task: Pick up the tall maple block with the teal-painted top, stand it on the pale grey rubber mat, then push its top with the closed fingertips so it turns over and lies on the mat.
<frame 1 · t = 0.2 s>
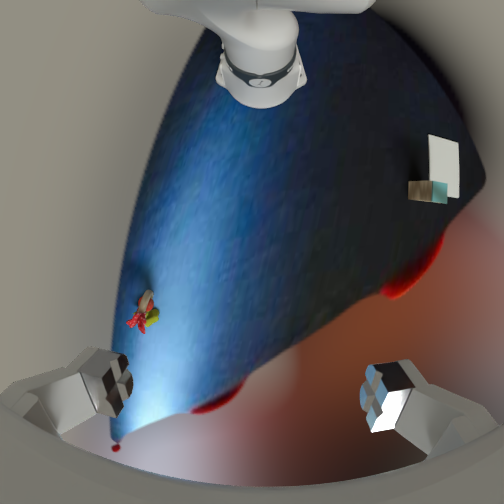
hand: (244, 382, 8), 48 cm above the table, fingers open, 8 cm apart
bird rattle: (150, 301, 60), on the table
grey mat: (444, 166, 49), on the table
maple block: (415, 191, 51), on the table
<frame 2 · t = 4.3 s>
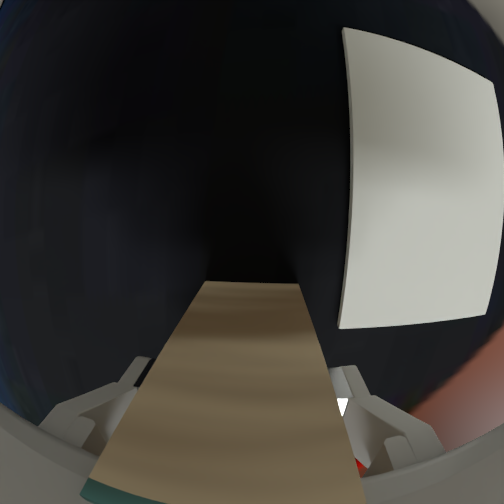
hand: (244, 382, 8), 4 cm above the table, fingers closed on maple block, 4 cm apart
grey mat: (442, 181, 10), on the table
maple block: (250, 324, 12), on the table, touching gripper
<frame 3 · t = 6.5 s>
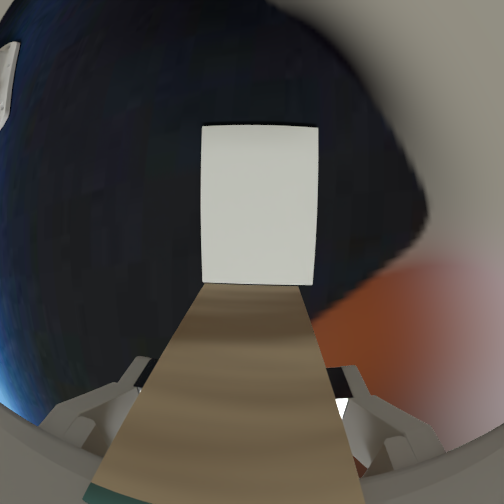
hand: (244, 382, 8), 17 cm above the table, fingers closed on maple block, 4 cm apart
grey mat: (258, 204, 23), on the table
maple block: (250, 326, 12), point 13 cm above the table, touching gripper
when the fingers open (6 cm above the table, at t = 8.7 s): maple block drops 1 cm, resting on grey mat.
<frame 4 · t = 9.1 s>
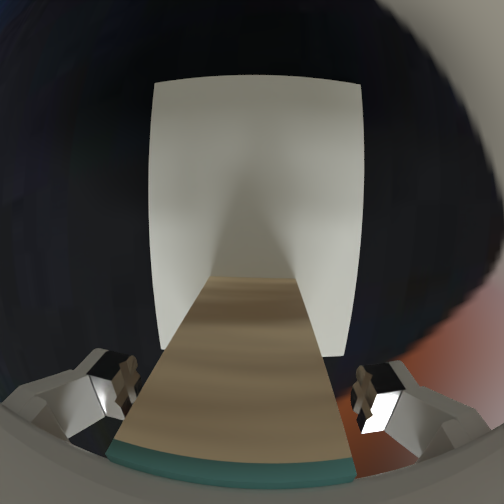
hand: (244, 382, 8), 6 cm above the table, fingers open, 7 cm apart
grey mat: (254, 221, 12), on the table
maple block: (251, 316, 13), resting on grey mat
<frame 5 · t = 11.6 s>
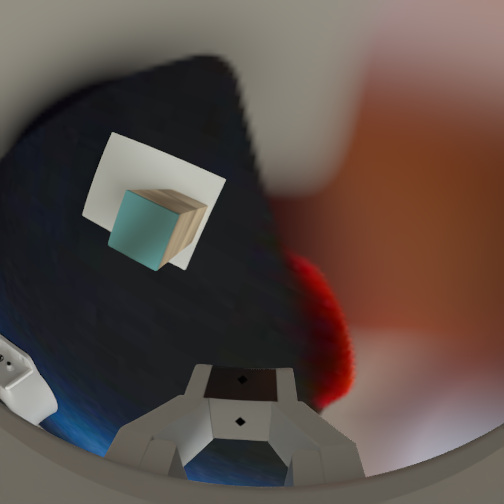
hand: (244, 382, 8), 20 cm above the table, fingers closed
grey mat: (145, 197, 26), on the table
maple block: (182, 215, 26), resting on grey mat
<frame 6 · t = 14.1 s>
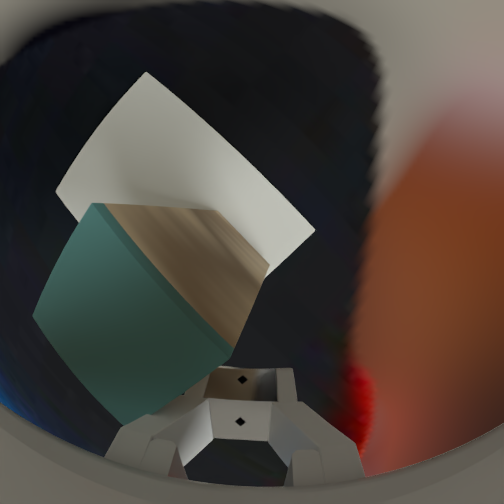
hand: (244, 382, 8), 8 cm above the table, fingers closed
grey mat: (164, 204, 15), on the table
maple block: (218, 262, 15), point 1 cm above the table, tilted 8°, touching grey mat
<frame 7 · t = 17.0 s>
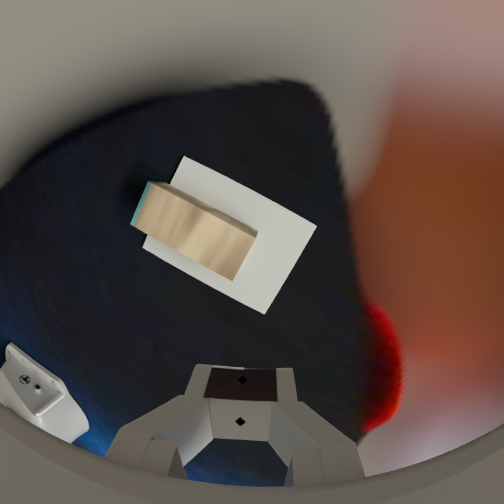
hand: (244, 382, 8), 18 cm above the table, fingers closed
grey mat: (224, 236, 26), on the table
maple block: (246, 254, 23), point 2 cm above the table, tilted 90°, touching grey mat
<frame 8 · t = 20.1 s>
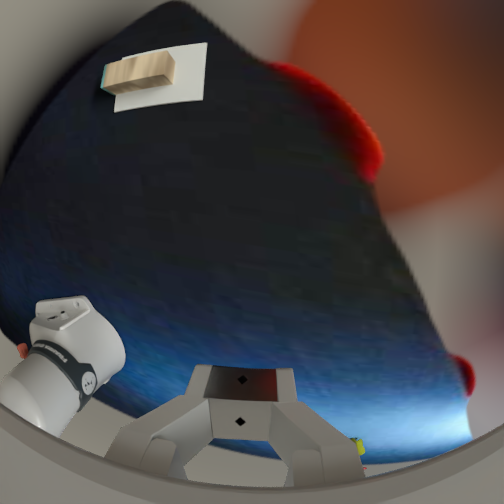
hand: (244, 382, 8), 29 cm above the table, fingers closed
bird rattle: (341, 443, 46), on the table
grey mat: (159, 76, 32), on the table
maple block: (169, 67, 29), point 2 cm above the table, tilted 90°, touching grey mat
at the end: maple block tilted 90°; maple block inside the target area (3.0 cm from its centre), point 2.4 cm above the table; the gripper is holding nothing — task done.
